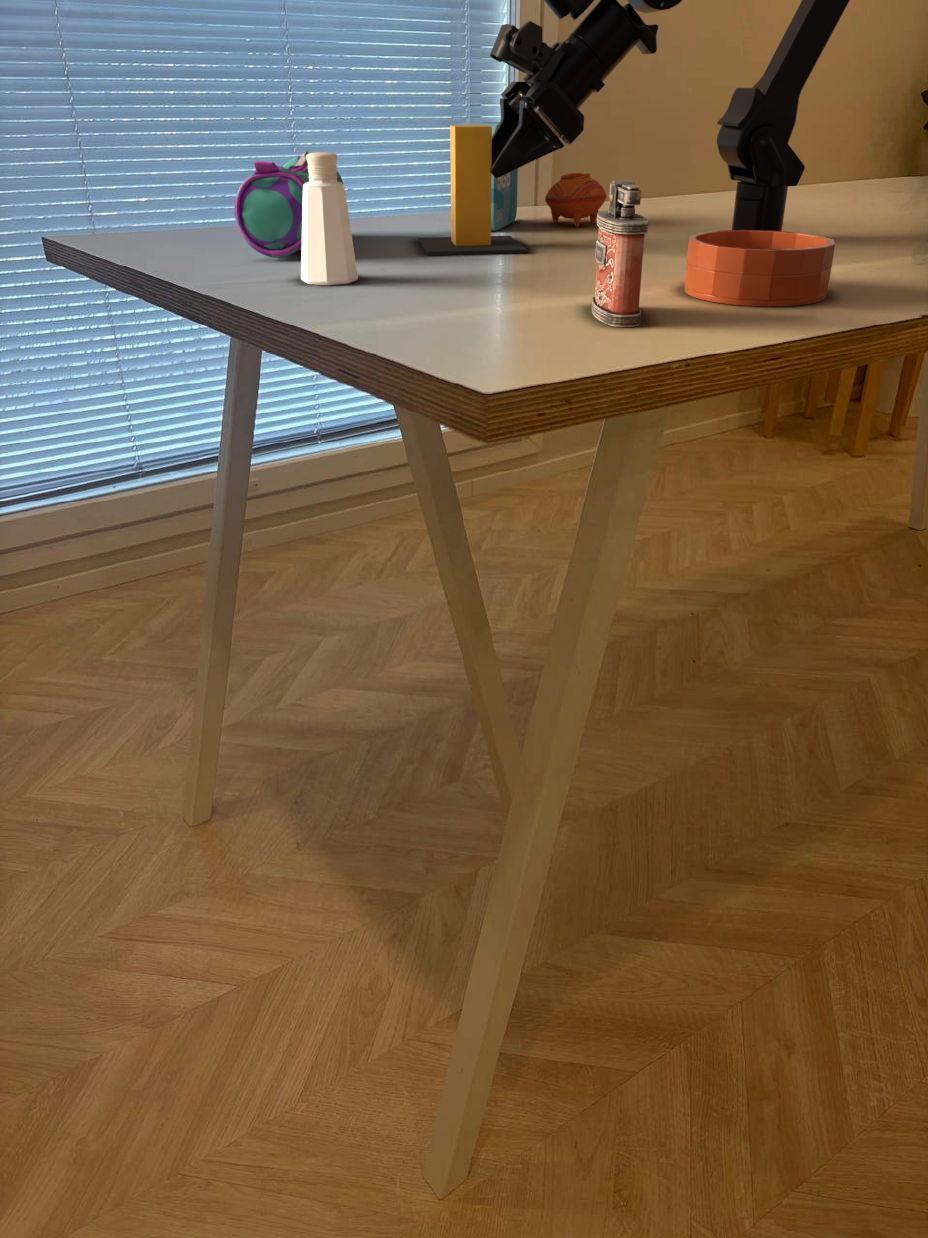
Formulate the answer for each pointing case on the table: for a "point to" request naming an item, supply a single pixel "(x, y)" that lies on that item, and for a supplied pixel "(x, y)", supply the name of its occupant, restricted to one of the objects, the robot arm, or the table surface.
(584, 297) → the table surface
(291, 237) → the pencil case
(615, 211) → the lighter
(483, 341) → the table surface
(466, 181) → the block
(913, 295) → the table surface
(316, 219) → the pepper shaker
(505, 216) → the data package
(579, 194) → the pot
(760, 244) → the bowl
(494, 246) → the mat
